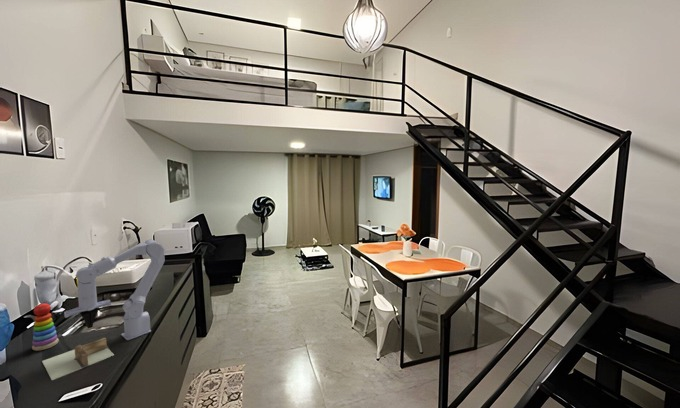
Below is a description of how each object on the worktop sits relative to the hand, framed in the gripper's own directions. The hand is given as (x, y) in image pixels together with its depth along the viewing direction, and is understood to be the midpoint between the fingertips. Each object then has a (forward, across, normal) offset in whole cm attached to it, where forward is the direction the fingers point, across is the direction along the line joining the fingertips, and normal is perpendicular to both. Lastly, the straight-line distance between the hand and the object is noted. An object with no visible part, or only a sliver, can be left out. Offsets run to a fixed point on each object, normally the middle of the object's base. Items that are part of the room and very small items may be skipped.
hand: (89, 327), depth 119 cm
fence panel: (+9, -5, -10) cm, 14 cm away
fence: (+9, -1, -5) cm, 11 cm away
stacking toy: (+10, -11, +18) cm, 23 cm away
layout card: (+9, -5, -5) cm, 12 cm away
